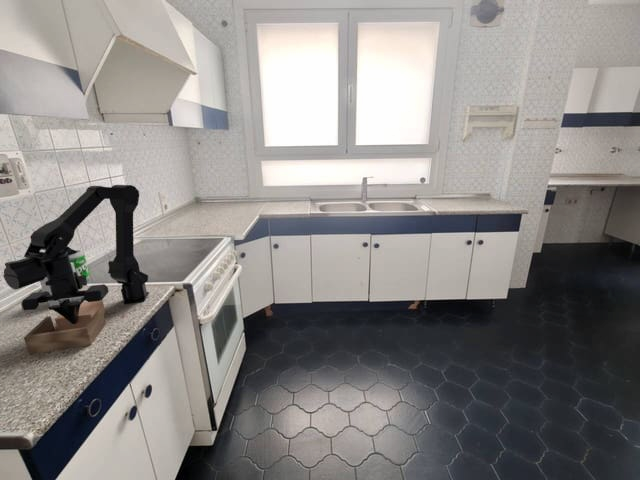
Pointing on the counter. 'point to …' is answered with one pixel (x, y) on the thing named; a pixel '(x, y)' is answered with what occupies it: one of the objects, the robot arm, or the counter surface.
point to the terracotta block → (80, 315)
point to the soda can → (80, 264)
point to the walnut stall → (63, 335)
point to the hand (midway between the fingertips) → (74, 323)
